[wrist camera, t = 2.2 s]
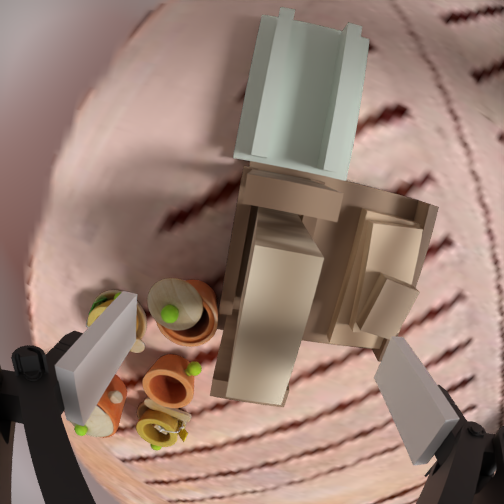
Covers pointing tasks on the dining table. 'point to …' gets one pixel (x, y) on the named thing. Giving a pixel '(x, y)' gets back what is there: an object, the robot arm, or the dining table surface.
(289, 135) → the stand
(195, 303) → the toy tea set
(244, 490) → the dining table surface
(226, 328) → the rack
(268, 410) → the dining table surface
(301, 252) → the birch block
